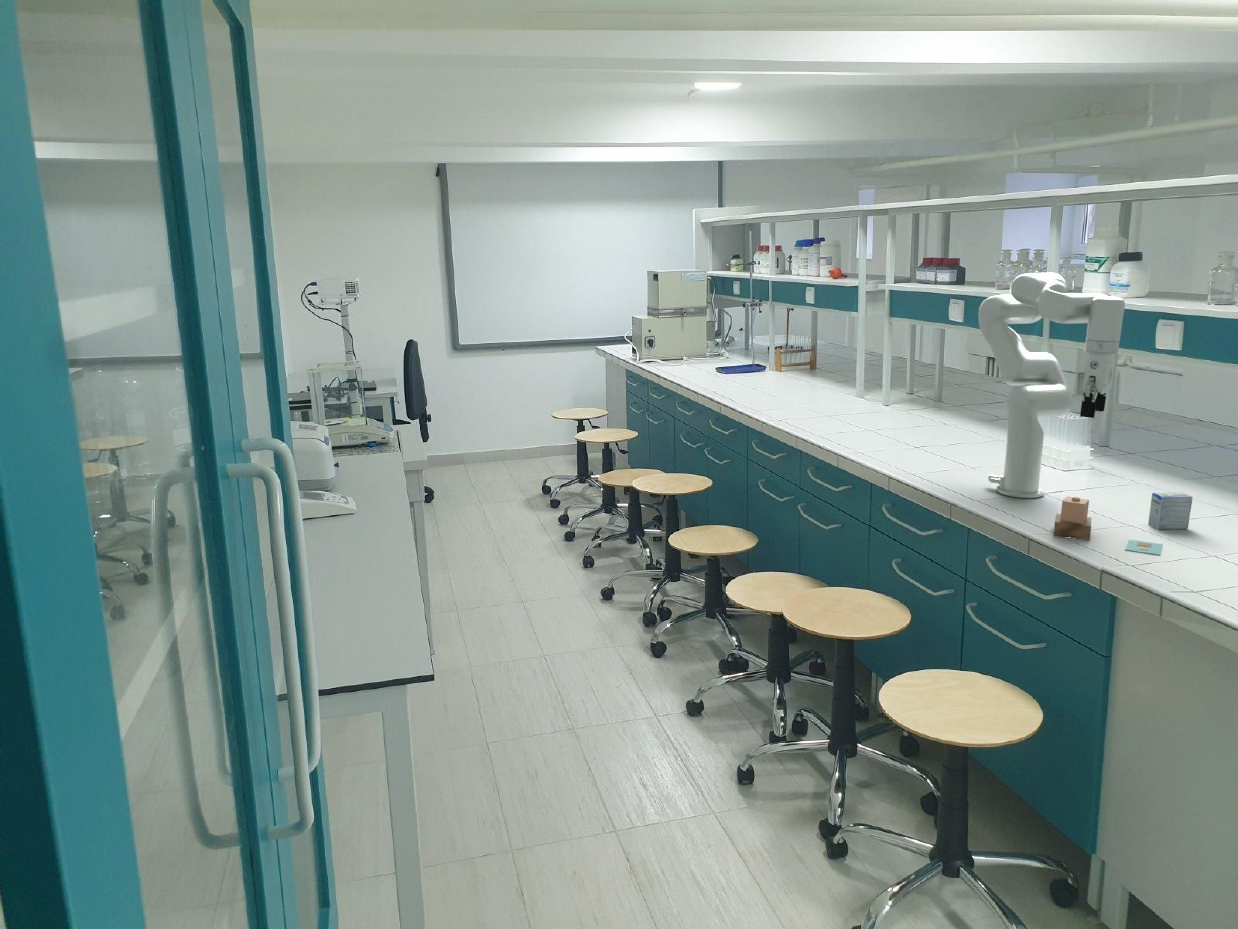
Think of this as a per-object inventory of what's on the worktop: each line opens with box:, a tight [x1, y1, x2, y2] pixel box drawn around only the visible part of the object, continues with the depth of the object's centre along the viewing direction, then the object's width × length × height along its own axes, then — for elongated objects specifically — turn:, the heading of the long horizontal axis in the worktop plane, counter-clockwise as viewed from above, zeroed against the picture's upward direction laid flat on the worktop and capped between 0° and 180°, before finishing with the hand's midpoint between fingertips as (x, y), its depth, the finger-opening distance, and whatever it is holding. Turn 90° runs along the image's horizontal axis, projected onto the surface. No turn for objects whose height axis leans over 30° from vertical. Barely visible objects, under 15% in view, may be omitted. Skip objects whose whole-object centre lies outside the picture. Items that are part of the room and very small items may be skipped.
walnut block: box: [1053, 513, 1092, 541], centre depth 227 cm, size 8×8×4 cm
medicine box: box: [1147, 491, 1193, 530], centre depth 231 cm, size 8×4×9 cm, turn 92°
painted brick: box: [1060, 496, 1090, 524], centre depth 226 cm, size 5×5×6 cm
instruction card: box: [1124, 539, 1163, 556], centre depth 217 cm, size 7×9×1 cm
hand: (1092, 413), depth 233 cm, fingers open, 9 cm apart
